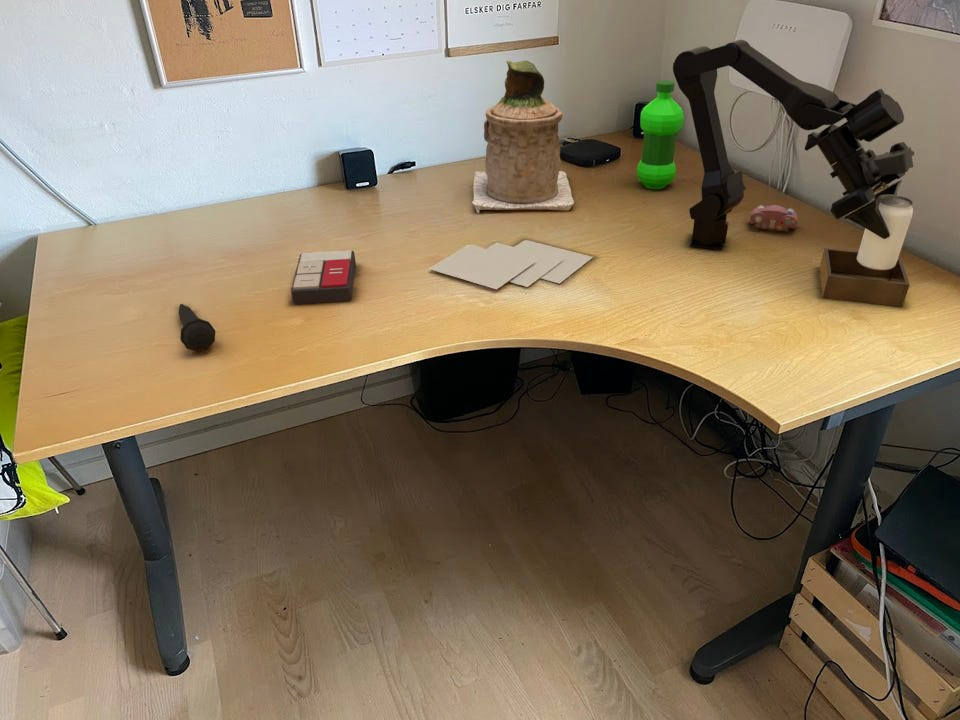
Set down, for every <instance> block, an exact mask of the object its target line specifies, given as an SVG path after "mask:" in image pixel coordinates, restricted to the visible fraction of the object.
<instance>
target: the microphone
mask: <svg viewBox="0 0 960 720" xmlns="http://www.w3.org/2000/svg"><path fill="white" fill-rule="evenodd" d="M178 316H179V320H180V322H181V325H182V328H180V338H179V340H180V342H181V343H182V344H183V346H184V347H185V349H187V350H190V351H193V352H202V351H204V350H208V349H210V347H211V346H212V345H213V344H214V342H215V341H216V329H215V328H214V327H213V326H212V324H211V323H210V322H209V320H208V321H207V320H205V319H202V318H199V317H198V316H197V315H196V314H195V312H194V311H193V310H192V308H191V307H190V306H188V305H185V304H183V303H180V304H179V308H178Z"/></svg>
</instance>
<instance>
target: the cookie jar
mask: <svg viewBox="0 0 960 720" xmlns="http://www.w3.org/2000/svg"><path fill="white" fill-rule="evenodd" d="M506 64H507V68H508V69H507V71H506V77H505V80H504V81H503V83H504V88H505V92H504V96H502V97H501V98H500V100H499V101H498V102H497V103H496V104H495V105H492V106H489V107H487V109H486V111H485V118H486V119H485V120H484V122H483V130H484V132H483V139H484V142H486V143H487V144H486V149H485V160H484V161H485V162H484V164H485V165H484V167H485V171H475V173H474V177H473V185H472V186H473V188H472V191H473V199H472V201H471V203H472V206H473V207H474V208H475V210H476V213H477V214H479V213H480V211H481V210H490V211H491V210H492V211H493V210H494V211H506V210H507V211H510V210H514V211H515V210H551V211H566V212H568V211H570V210H571V208H572V207H573V206H574V204H575V200H574V198H573V196H572V188H571V187H570V186H571V185H570V184H569V183H570V182H569V179H568V177H567V172H565V171H563V170H561V165H562V161H561V157H560V156H561V146H560V138H559V123H560V122H561V121H562V119H563V112H562V111H561V110H560V108H559V107H558V106H555V105H554V104H553V103H552V102H550V101H549V100H547V99H544V98H543V97H542V95H543V92H544V90H545V78H544V75H542V73H541V71H539V70H538V68H537V67H536V65H535V64H534V63H533V62H531V61H529V60H522V61H521V60H520V61H515V62H513V61H511V60H510V59H508V60H506Z"/></svg>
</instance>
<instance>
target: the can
mask: <svg viewBox="0 0 960 720" xmlns="http://www.w3.org/2000/svg"><path fill="white" fill-rule="evenodd" d="M879 197H880V196H879ZM913 205H914V201H913V200H912V199H910V198H909V197H905V196H903V195H898V194H897V195H881V200H880V204H879V211H880V213H881V215H882V217H883V219H884V222H885V224H886V226H887V228H888V231H889V233H890V237H888V238H886V239H883V238H881V237H879V236H878V235H876V234H874V233H873V232H871V231H869V230H868V229H866V228H864V232H863V235H862V239H861V242H860V245H859V249H858V250H857V251H858V255H857V261H858V263H859V264H860V265H862V266H864V267H866V268H869V269H873V270H889V269H891V268H893V267H895V265H896V263H897V260H898V257H899V256H900V254H901V251H902V248H903V246H904V242H905V240H906V239H905V238H906V236H907V233H908V229H909V227H910V224H911V221H912V217H913V214H914V209H913Z"/></svg>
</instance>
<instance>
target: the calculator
mask: <svg viewBox="0 0 960 720" xmlns="http://www.w3.org/2000/svg"><path fill="white" fill-rule="evenodd" d="M356 270H357V261H356V255H355V250H352V249H347V250H330V251H328V250H327V251H314V252H301V253H300V254H299V257H298V261H297V266H296V269H295V272H294V276H293V281H292V285H291V288H290V293H291V298H292V304H294V305H305V304H320V303H321V304H322V303H323V304H324V303H336V302H338V303H339V302H350V301H352V300H353V299H352V298H353V290H354V281H355V275H356V272H357V271H356Z"/></svg>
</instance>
